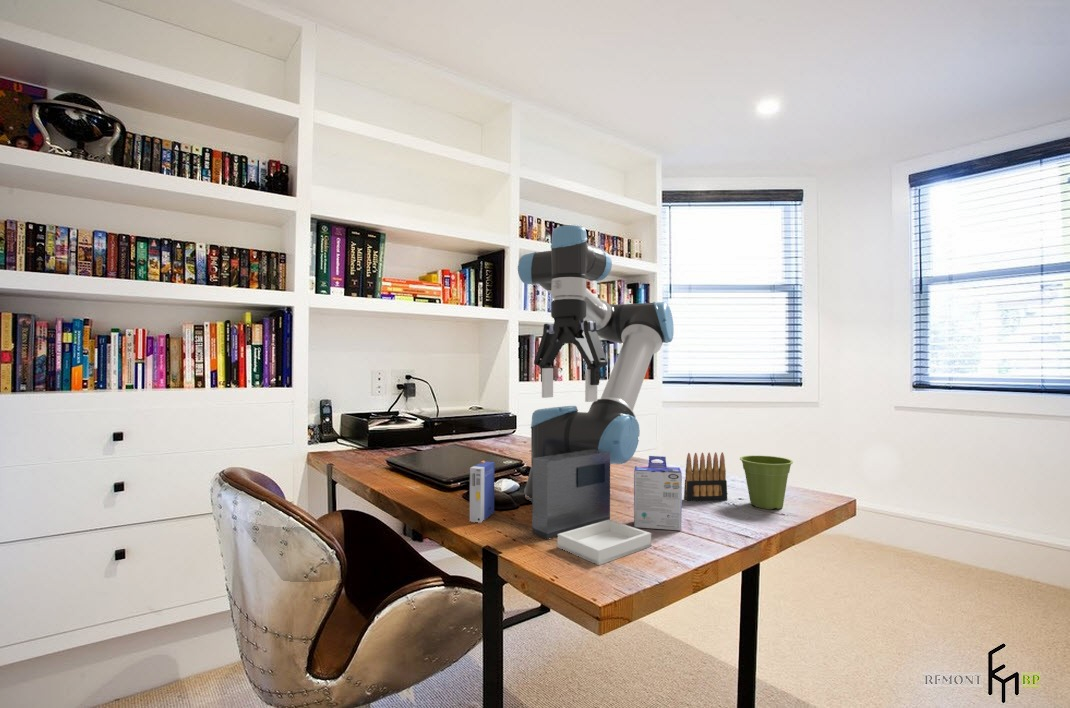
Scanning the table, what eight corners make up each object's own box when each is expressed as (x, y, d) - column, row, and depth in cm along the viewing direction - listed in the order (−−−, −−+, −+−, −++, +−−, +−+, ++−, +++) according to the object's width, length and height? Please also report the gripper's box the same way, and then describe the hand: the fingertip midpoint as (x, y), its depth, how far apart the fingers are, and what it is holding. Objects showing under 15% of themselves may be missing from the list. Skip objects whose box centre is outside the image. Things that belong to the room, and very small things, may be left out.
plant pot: (786, 500, 128) (786, 455, 128) (799, 514, 117) (799, 465, 117) (736, 497, 131) (736, 453, 131) (744, 511, 119) (744, 462, 119)
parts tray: (557, 547, 95) (557, 534, 95) (609, 531, 104) (609, 519, 104) (598, 565, 87) (598, 550, 87) (651, 546, 96) (651, 533, 96)
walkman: (483, 511, 118) (483, 459, 118) (494, 512, 117) (494, 460, 117) (468, 522, 110) (469, 466, 110) (480, 523, 109) (480, 467, 110)
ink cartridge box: (680, 523, 110) (680, 456, 110) (682, 531, 105) (683, 461, 105) (634, 520, 112) (634, 454, 112) (633, 528, 107) (634, 459, 107)
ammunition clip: (724, 498, 130) (724, 451, 130) (727, 500, 128) (727, 452, 128) (683, 499, 129) (683, 452, 129) (686, 501, 127) (686, 453, 127)
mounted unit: (530, 532, 103) (531, 457, 104) (593, 516, 115) (593, 448, 115) (548, 540, 99) (548, 462, 99) (611, 522, 111) (611, 451, 111)
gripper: (519, 303, 116) (518, 396, 116) (599, 292, 97) (598, 404, 96) (544, 305, 121) (543, 395, 121) (625, 295, 101) (625, 402, 101)
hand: (568, 399), depth 108 cm, fingers open, 13 cm apart
